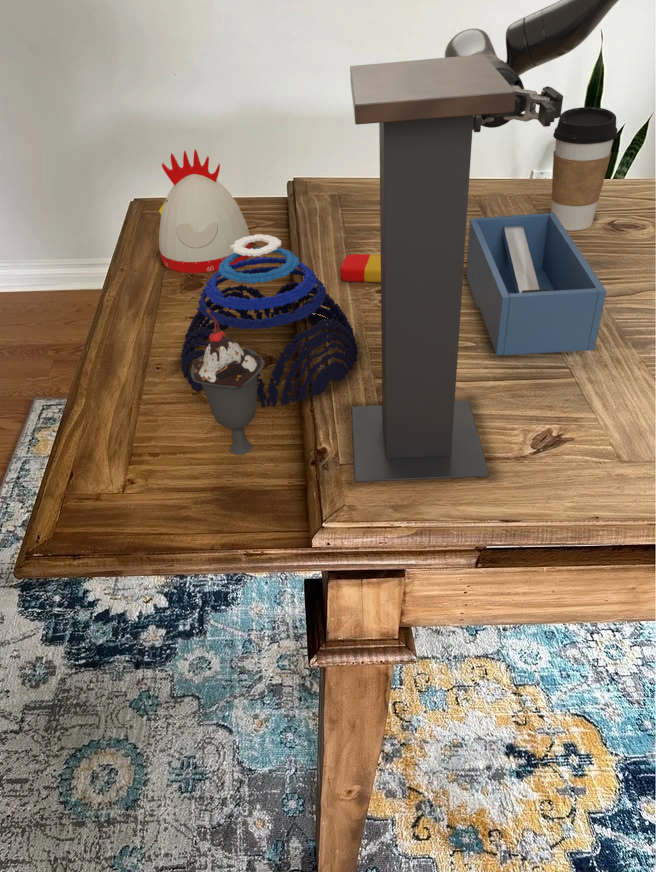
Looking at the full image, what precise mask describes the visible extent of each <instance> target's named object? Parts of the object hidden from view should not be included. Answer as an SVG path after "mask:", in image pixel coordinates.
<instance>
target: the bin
mask: <svg viewBox="0 0 656 872" xmlns="http://www.w3.org/2000/svg"><path fill="white" fill-rule="evenodd" d="M519 225H523V228H524V232H525V236H526V239H527V243H528V247H529V251H530V255H531V258H532V262H533V266H534V270H535V274H536V278H537V281H538V285H539V289H548V290H549V291H544V292H528V293H516V289H515V285H514V281H513V277H512V272H511V268H510V264H509V260H508V255H507V251H506V247H505V243H504V238H503V228H504V226H519ZM467 239H468V240H467V253H466V254H467V256H466V268H465V269H466V271H465V277H466V280H467V283H468V285H469V289H470V291H471V294H472V298H473V300H474V304H475V306H476V308H477V309H479V310H480V313H481V316H482V319H483V323H484V324H485V327H486V330H487V334H488V335H489V339H490V341H491V345H492V347H493V350H494V353H495V356H514V355H515V356H516V355H530V354H534V355H535V354H551V353H567V352H583V351H584V352H586V351H595V350H596V344H597V339H598V335H599V330H600V326H601V319H602V315H603V310H604V305H605V300H606V295H607V290H606V288H605V287H604V285H603V284H602V282H601V281H600V280H599V278H598V276H597V274H596V272H594V270H593V269H592V267H591V265H590V264H589V262H588V261H587V259H586V258H585V257H584V255H583V254H582V252H581V251H580V249H579V247H578V246H577V244H576V243H575V242H574V240H573V239H572V237H571V236H570V233H568V230H565V228H564V227H563V225H562V224H561V222H560V221H559V219H558V218H557V216H556V215H555V213H551V212H543V213H541V212H540V213H531V214H530V213H529V214H528V213H527V214H514V215H513V214H512V215H500V216H499V215H498V216H485V217H474V218H473V217H472V218H469V223H468V238H467Z"/></svg>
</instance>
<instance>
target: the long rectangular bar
mask: <svg viewBox="0 0 656 872" xmlns="http://www.w3.org/2000/svg"><path fill="white" fill-rule="evenodd" d="M503 238H504V243H505V247H506V251H507V255H508V260H509V264H510V268H511V272H512V277H513V281H514V285H515V289H516V293H528V292H544V291H549V290H548V289H539V285H538V281H537V278H536V274H535V270H534V266H533V262H532V258H531V255H530V251H529V247H528V243H527V239H526V236H525V232H524V228H523V225H519V226H504V228H503Z"/></svg>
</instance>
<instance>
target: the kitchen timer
mask: <svg viewBox="0 0 656 872" xmlns="http://www.w3.org/2000/svg"><path fill="white" fill-rule="evenodd" d="M182 158H183V159H182V167H181V166H180V165H179V163H178V161H177V159H176V157H175V155H174V154H173V152H171V153H170V164H171V169H170V168H169V167H168V166H167V165H166V164H165V163H164V162H162V163H161V167H162V169H163V171H164V173H165V175H166V176H167V177H168V179H169V181H170V182H171V183H172V184H173V186H172V187H171V189H170V190H169V192H168V194H167V196H166V198H165V201H164V202H163V204H162V205H161V206H160V208H159V209H158V212H159V214H160V221H159V232H158V248H159V255H160V259H161V262H162V264H163V266H164V267H166V268H167V269H169V270H171V271H175V272H179V273H188V274H202V273H204V274H205V273H210V272H218V271H219V270H218V269H219V265H220V263H222V261H224V259H225V258H227V257H228V256H229V255H231V254H233V253H234V252H233V250H234V249H231V247H230V246H231V245H233V244H234V243H235V241H236V240H239V239H241V238H243V237H245V236H246V237H248V236H251V233H250V229H249V225H247V221H246V219H245V217H244V214H243V212H242V210H241V208H240V206H239V204H238V202H237V201H236V199H235V198H234V197H233V195H232V194H231V193H230V191H229V190H228V189H227V188H226V187H225V186H224V185H223V184H222V183H221V182H219V180H218V177H219V173H220V168H221V163H218V165H217V167H216V168H215V171H214V172H212V173H211V172H210V171H209V170H210V169H209V166H210V165H209V163H210V157H209V156H206V158H205V161H204V163H203V165H202V164H201V161H200V157H199V153H198V151H197V149H196V148H195V149H194V151H193V164H192V165H191V163H190V160H189V157H188V154H187V151H186V150H183V157H182ZM244 248H247V249H250V248H253V247H252V242H249V243H247V244H245V246H244ZM248 257H249V256H247V255H245V256H241V257H238V258H236V259H234V261H233V262H231V263H230V264H231V265H233V264H235V263H237V262H240V261H242V260H244V261H245V260H247V259H248ZM230 264H229V265H230Z"/></svg>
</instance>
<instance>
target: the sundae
mask: <svg viewBox="0 0 656 872" xmlns="http://www.w3.org/2000/svg"><path fill="white" fill-rule="evenodd" d="M206 311H207V313H208V314H209V315H210V316H211V317H212V318H213V320H214V326H215V329H213V330H214V333H212V334H211V335H210V336H209V338H208V340H209V341H210V342H209V343H210V344H209V345H208V346H206V348H205V350H204V351H205V355H204V356H201V357H199V358H198V359H195V360H194V359H193V360H192V362H191V363H192V364H191V368H190V370H191V377H192V379H193V381H195V382H197V383H201V384H202V386H203V388H204V390H203V391H204V394H205V396H206V399H207V402H208V405H209V408H210V411H211V412H212V415H213V418H214V420H215V421H216V423H217V424H219V425H221V426H222V427H224V428H226V429H229V430H231V434H232V444H231V446H230V447H229V452H230V453H231V454H233V455H237V456H244V455H247V454H248V453H250V452H251V450H252V448H253V444H252V443H250V442H249V441H248V439H247V437H246V432H245V427H247V426H248V425H249V424H250V423H251V422H252V421H253V419H254V418H255V417H256V414H257V405H258V395H257V389H258V382H257V378H259V377H258V373H259V374H260V372H261V371H262V370H263V369H264V367H265V360H264V359H263V357H262V356H261V355H260V354H259V353H257V352H256V351H254V350H253V349H250V348H249V347H243V346H240V344H239V343H238V342H237V341H236V342H235V339H232V338H230V337H227V336H226V333H225V332H224V330H223V331H222V330H220V327H219V324H218V322H217V320H216V319H215V318H214V317H213V316H212V315H211V313H210V309H206ZM216 324H217V327H218V328H216Z"/></svg>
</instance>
